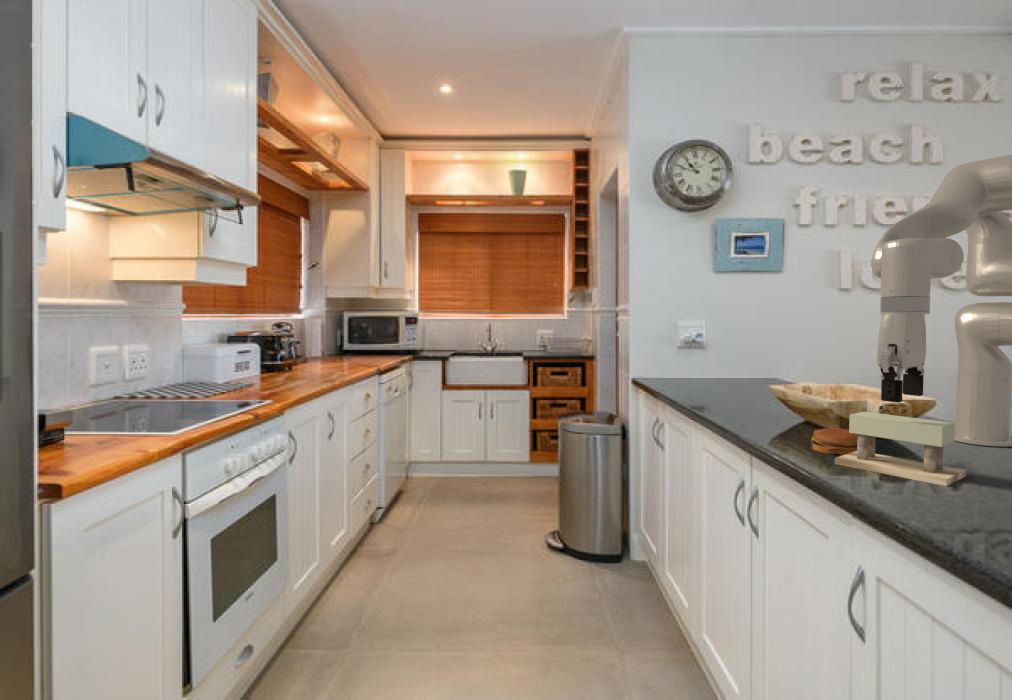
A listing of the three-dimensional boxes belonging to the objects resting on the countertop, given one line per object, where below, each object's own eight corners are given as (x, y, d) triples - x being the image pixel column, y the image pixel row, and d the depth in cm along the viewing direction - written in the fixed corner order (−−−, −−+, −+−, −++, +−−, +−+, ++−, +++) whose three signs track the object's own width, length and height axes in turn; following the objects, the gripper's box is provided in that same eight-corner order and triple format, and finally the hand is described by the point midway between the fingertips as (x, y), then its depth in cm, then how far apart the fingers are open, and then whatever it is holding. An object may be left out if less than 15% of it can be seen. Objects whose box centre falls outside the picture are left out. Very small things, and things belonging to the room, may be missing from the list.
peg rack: (857, 456, 117) (858, 426, 117) (966, 476, 102) (967, 442, 102) (834, 463, 111) (835, 432, 111) (946, 486, 97) (947, 450, 96)
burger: (872, 456, 117) (873, 434, 117) (826, 457, 117) (827, 434, 117) (844, 446, 127) (844, 425, 127) (802, 446, 127) (802, 425, 127)
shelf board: (863, 428, 114) (863, 411, 114) (954, 442, 102) (954, 423, 102) (849, 432, 111) (849, 414, 111) (941, 446, 99) (942, 426, 98)
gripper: (900, 305, 113) (898, 390, 114) (861, 308, 103) (859, 401, 104) (946, 304, 107) (943, 395, 108) (909, 307, 97) (907, 406, 98)
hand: (902, 398), depth 106 cm, fingers open, 9 cm apart
